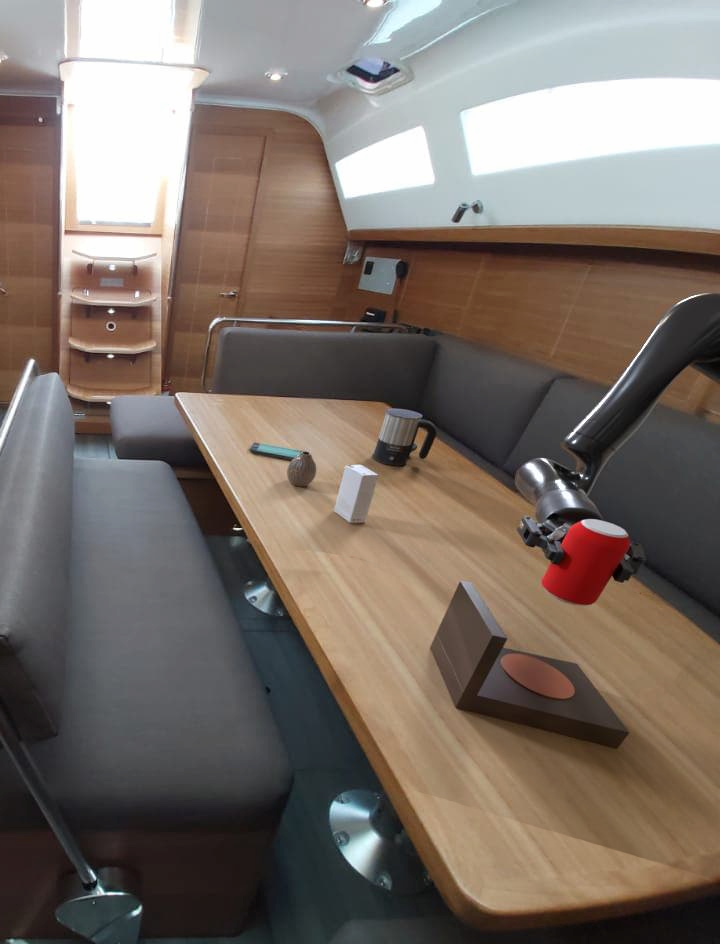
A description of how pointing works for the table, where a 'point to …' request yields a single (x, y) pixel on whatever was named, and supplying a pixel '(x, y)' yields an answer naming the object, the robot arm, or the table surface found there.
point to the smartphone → (274, 451)
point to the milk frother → (402, 437)
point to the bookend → (516, 677)
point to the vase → (302, 469)
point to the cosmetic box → (355, 493)
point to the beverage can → (586, 562)
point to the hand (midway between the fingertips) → (590, 567)
